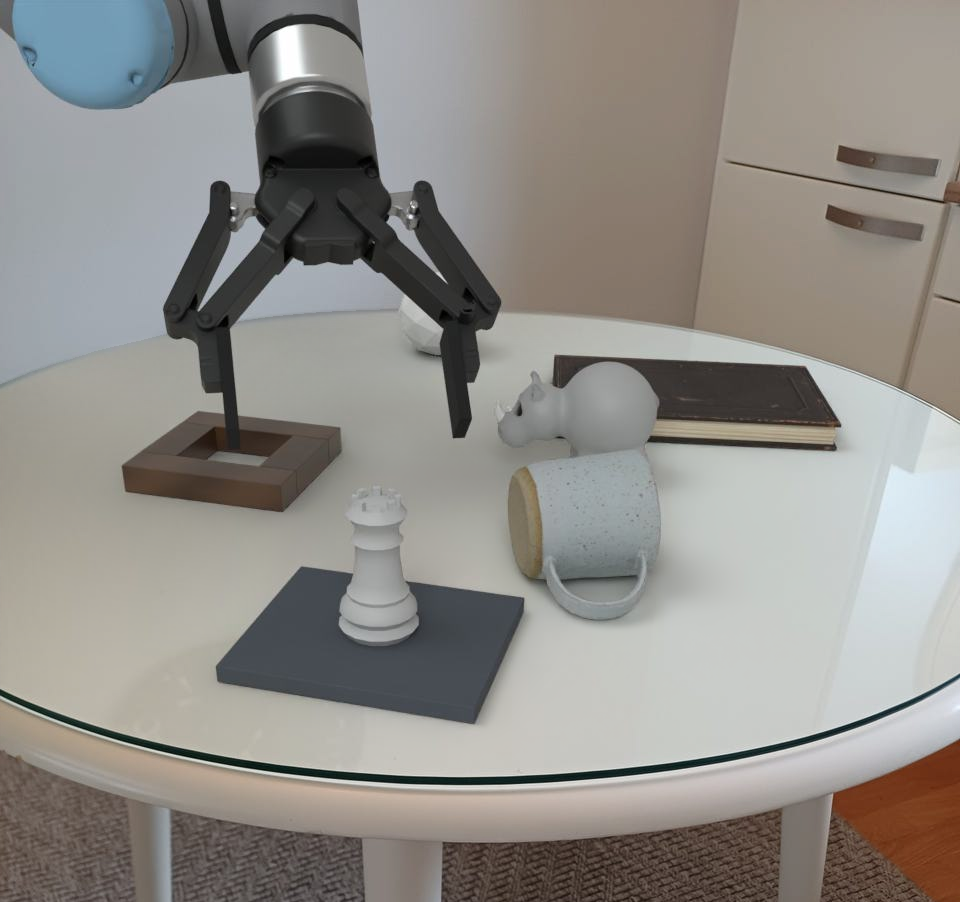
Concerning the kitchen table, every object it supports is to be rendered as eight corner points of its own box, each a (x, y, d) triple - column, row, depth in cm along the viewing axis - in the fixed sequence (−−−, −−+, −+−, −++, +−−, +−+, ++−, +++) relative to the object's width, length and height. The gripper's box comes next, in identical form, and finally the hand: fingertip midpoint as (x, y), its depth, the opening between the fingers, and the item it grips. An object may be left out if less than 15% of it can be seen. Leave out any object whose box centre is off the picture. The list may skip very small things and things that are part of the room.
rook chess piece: (349, 606, 65) (344, 475, 60) (425, 612, 64) (426, 482, 60) (329, 645, 61) (323, 509, 57) (411, 653, 60) (410, 516, 56)
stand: (124, 491, 80) (120, 465, 79) (200, 434, 90) (197, 410, 89) (282, 512, 78) (280, 485, 77) (341, 451, 88) (341, 426, 87)
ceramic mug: (500, 548, 74) (504, 438, 69) (619, 540, 75) (630, 431, 71) (541, 632, 65) (550, 511, 61) (675, 620, 66) (692, 501, 62)
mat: (216, 681, 59) (215, 665, 59) (301, 580, 69) (301, 565, 69) (474, 724, 56) (474, 708, 56) (524, 612, 67) (524, 597, 66)
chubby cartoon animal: (492, 453, 88) (496, 345, 84) (645, 458, 88) (656, 350, 84) (491, 489, 82) (495, 375, 78) (655, 495, 82) (668, 381, 78)
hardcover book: (836, 450, 91) (841, 423, 89) (551, 437, 92) (552, 409, 90) (800, 388, 104) (804, 363, 103) (552, 376, 105) (554, 352, 104)
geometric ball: (447, 385, 111) (443, 334, 104) (386, 343, 113) (378, 290, 106) (495, 335, 113) (495, 282, 106) (435, 295, 115) (430, 240, 108)
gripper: (493, 165, 78) (538, 449, 73) (117, 165, 72) (139, 471, 68) (516, 87, 71) (567, 396, 66) (100, 80, 65) (123, 416, 61)
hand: (350, 435), depth 67 cm, fingers open, 13 cm apart
